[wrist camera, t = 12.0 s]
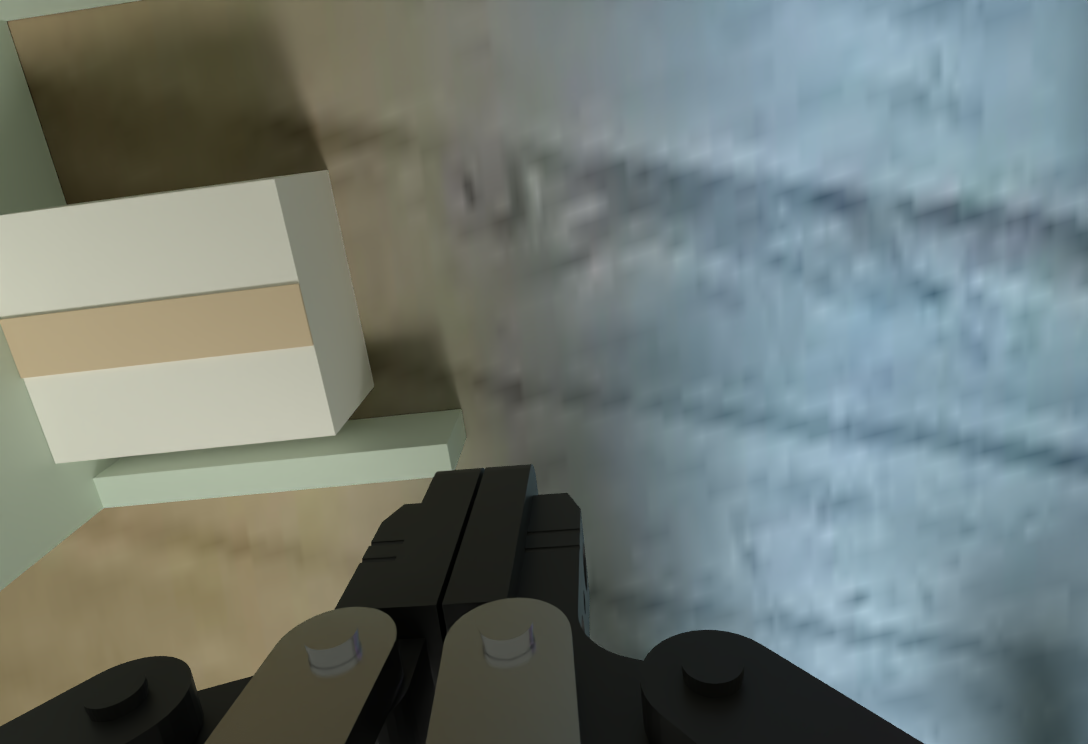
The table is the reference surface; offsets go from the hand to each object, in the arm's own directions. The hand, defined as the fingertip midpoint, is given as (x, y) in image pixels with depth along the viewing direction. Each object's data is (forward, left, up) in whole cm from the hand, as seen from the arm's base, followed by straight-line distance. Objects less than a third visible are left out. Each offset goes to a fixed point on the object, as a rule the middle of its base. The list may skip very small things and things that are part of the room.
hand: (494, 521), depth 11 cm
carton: (+15, 0, -22) cm, 27 cm away
